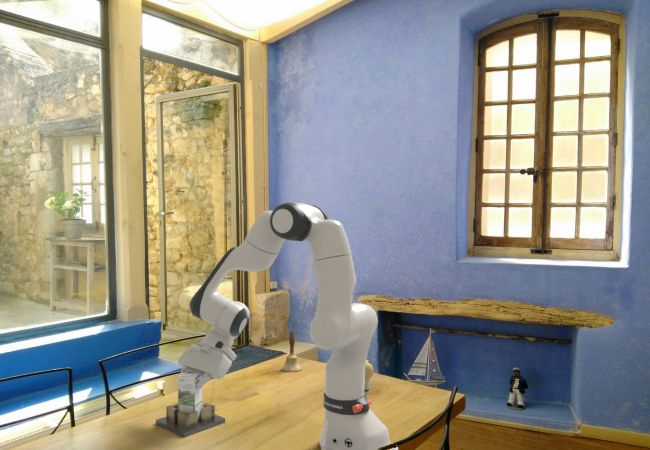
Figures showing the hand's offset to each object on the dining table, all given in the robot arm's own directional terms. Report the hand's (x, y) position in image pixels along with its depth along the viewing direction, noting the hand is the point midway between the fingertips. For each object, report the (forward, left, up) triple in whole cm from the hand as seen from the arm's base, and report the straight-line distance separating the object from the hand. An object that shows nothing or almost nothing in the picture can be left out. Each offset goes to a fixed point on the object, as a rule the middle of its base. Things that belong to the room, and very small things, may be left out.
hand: (188, 384), depth 163 cm
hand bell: (+17, -63, -13) cm, 66 cm away
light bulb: (-21, -63, -12) cm, 67 cm away
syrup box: (0, -1, -11) cm, 11 cm away
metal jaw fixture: (0, -1, -12) cm, 12 cm away
